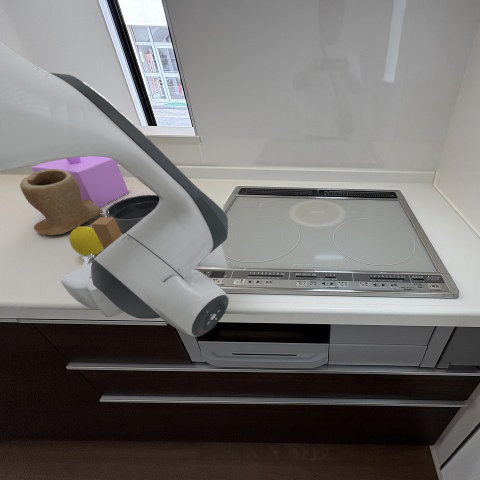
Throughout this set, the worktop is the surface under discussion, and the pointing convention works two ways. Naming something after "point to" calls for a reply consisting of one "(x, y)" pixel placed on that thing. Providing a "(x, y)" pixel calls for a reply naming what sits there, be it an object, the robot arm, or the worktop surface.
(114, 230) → the sponge wand
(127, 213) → the bowl
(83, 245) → the lemon
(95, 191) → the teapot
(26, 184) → the stone cup
